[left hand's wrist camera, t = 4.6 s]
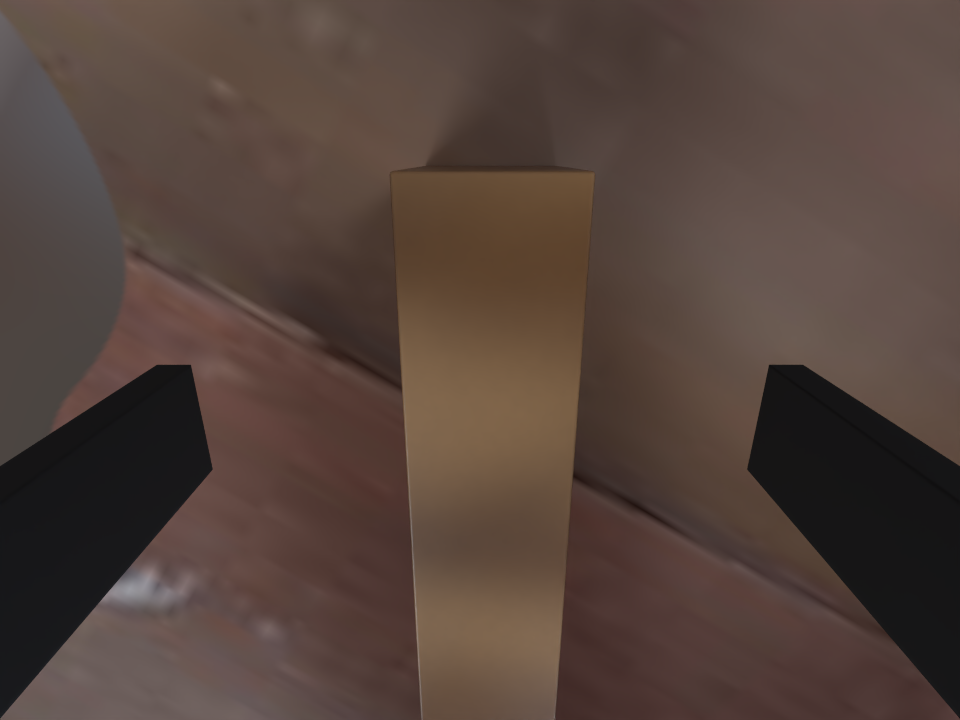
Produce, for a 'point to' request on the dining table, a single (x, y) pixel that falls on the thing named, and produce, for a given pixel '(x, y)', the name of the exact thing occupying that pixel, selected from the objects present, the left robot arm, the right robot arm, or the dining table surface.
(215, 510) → the dining table surface
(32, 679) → the left robot arm
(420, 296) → the bar
